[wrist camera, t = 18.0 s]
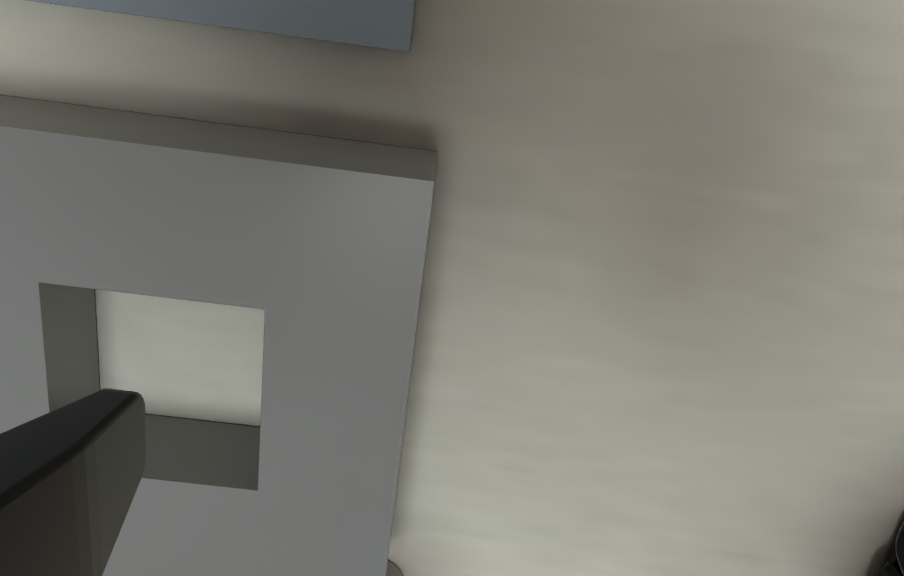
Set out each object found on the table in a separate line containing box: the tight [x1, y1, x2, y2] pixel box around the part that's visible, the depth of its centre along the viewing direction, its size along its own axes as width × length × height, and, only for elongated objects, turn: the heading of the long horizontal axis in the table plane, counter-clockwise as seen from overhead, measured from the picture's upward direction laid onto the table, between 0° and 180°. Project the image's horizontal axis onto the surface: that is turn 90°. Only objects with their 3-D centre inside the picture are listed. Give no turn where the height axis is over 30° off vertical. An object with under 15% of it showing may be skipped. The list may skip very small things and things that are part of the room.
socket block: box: [0, 95, 438, 576], centre depth 20 cm, size 14×16×8 cm
